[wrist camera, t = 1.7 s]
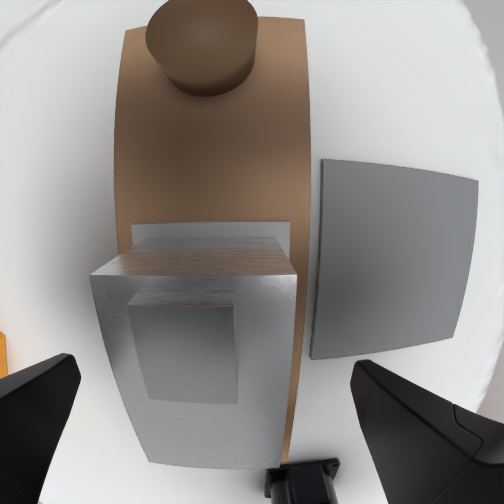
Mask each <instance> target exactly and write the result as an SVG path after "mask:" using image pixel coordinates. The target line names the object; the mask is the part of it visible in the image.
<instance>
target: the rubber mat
mask: <svg viewBox="0 0 504 504" xmlns="http://www.w3.org/2000/svg"><path fill="white" fill-rule="evenodd" d="M477 206H478V181H477V180H473V179H468V178H464V177H459V176H454V175H449V174H443V173H438V172H432V171H426V170H420V169H413V168H406V167H399V166H391V165H383V164H374V163H365V162H354V161H343V160H329V159H322V160H321V214H320V240H319V259H318V275H317V288H316V301H315V312H314V323H313V332H312V342H311V350H310V358H311V360H317V359H328V358H338V357H347V356H355V355H362V354H369V353H376V352H383V351H389V350H395V349H400V348H406V347H411V346H416V345H421V344H426V343H431V342H435V341H440V340H444V339H448V338H452V337H453V335H454V331H455V328H456V325H457V321H458V318H459V314H460V310H461V306H462V303H463V298H464V294H465V290H466V285H467V280H468V275H469V270H470V265H471V259H472V252H473V245H474V238H475V229H476V219H477Z"/></svg>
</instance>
